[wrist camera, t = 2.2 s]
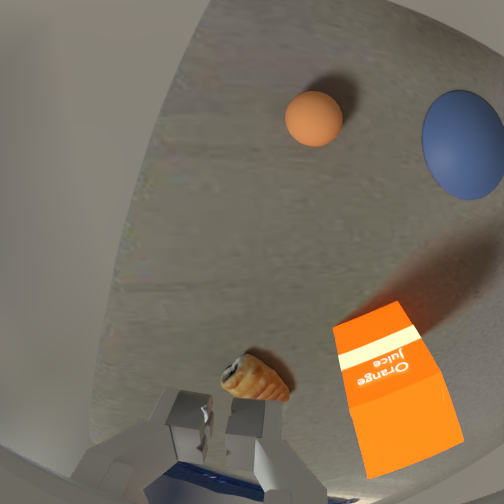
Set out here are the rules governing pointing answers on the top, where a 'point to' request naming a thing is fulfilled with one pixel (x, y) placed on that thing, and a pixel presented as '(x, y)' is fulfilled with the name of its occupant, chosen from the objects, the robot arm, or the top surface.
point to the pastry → (254, 380)
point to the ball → (313, 118)
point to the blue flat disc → (464, 145)
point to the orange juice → (394, 391)
